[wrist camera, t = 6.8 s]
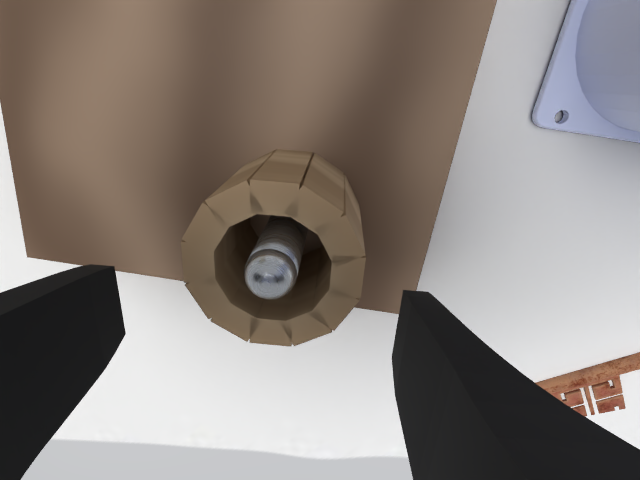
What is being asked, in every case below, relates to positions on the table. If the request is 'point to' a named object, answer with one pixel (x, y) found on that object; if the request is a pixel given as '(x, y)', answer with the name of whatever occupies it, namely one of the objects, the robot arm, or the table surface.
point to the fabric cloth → (231, 118)
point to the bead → (240, 239)
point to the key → (593, 384)
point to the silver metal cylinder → (276, 258)
